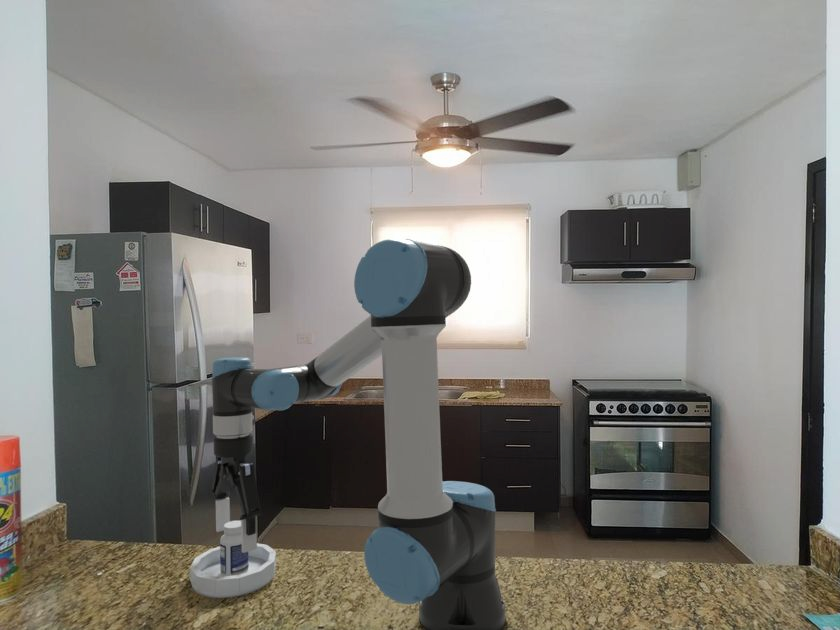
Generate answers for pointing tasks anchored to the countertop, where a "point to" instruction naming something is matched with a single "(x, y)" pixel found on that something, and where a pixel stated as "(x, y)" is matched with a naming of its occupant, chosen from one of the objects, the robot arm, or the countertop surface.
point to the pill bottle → (232, 551)
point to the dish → (217, 586)
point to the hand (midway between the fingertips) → (235, 539)
